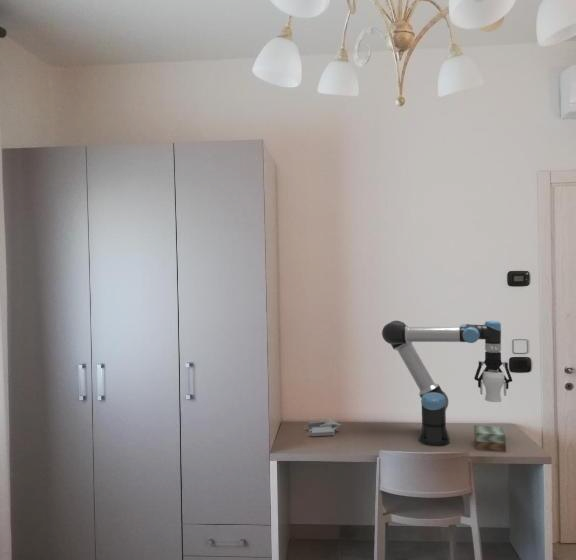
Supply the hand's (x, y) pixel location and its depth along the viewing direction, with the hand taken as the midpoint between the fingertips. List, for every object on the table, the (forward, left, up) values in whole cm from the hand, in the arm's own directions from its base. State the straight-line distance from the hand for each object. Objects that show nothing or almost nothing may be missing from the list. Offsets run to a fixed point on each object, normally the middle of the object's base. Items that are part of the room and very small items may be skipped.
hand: (493, 394), depth 258 cm
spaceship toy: (-87, -9, -23) cm, 90 cm away
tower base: (-3, -13, -22) cm, 26 cm away
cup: (0, 0, -3) cm, 3 cm away
